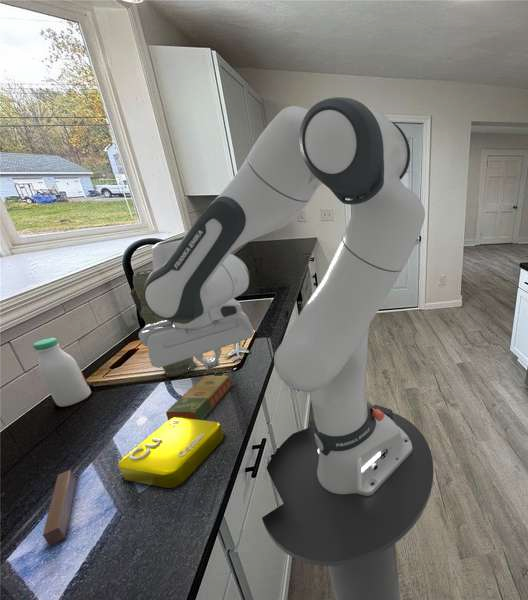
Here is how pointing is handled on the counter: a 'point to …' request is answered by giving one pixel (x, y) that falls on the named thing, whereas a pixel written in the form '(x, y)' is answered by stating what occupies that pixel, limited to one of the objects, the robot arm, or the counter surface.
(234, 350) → the toy airplane
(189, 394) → the carton
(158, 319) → the thermos
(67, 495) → the back rail
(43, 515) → the counter surface
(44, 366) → the milk bottle
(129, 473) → the element tile
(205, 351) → the robot arm
